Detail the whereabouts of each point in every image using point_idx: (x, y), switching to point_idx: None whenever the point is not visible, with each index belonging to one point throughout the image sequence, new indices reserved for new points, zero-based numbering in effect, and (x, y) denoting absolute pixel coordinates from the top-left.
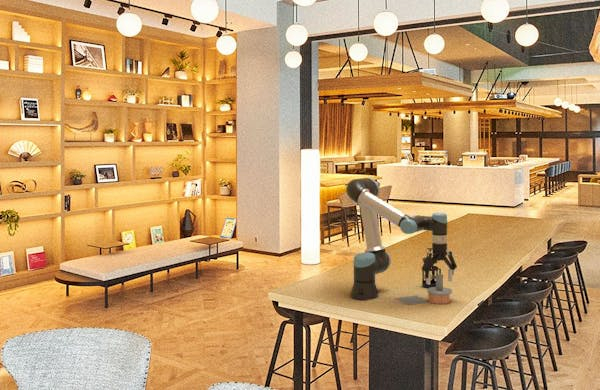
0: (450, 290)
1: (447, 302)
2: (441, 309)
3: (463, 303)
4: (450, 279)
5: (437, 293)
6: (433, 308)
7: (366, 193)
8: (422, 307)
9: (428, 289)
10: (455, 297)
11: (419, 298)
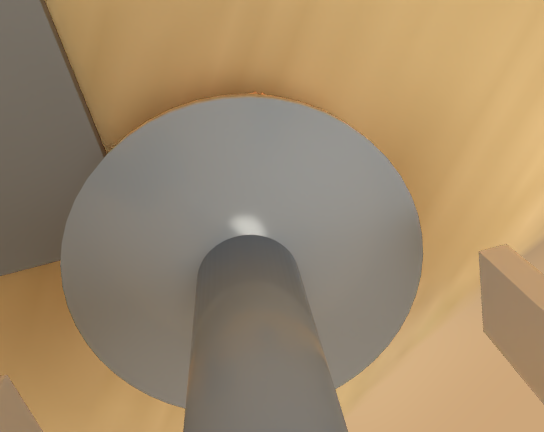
0: (387, 320)
1: None
2: (180, 418)
3: (450, 283)
4: (507, 343)
5: (172, 399)
6: (116, 391)
7: None
8: (15, 360)
9: (87, 236)
10: (502, 57)
11: (21, 73)
